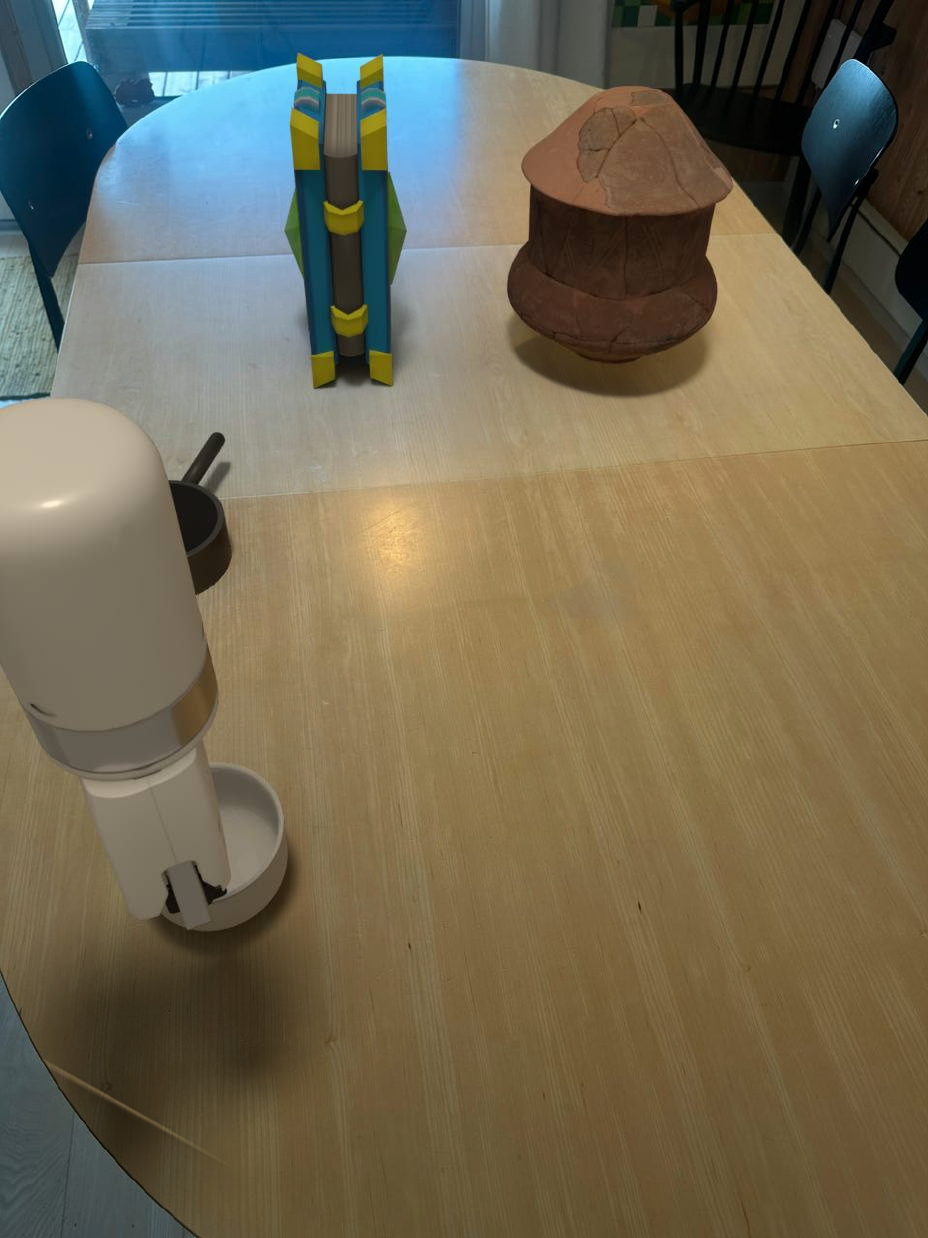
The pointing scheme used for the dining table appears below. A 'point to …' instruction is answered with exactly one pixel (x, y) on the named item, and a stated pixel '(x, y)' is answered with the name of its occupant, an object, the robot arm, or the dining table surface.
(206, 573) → the milk pan
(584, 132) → the pottery vessel
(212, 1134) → the dining table surface
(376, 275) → the decorative book
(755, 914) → the dining table surface
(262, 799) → the teacup
